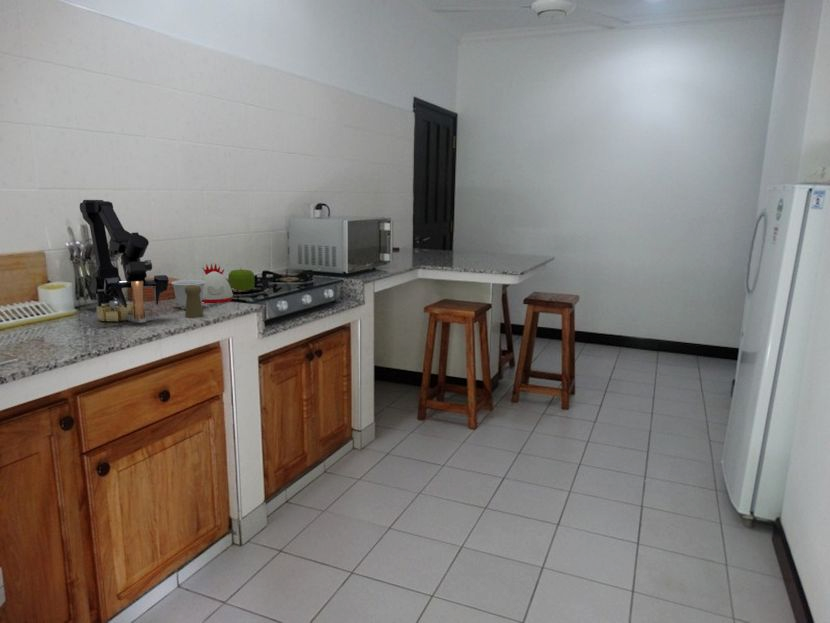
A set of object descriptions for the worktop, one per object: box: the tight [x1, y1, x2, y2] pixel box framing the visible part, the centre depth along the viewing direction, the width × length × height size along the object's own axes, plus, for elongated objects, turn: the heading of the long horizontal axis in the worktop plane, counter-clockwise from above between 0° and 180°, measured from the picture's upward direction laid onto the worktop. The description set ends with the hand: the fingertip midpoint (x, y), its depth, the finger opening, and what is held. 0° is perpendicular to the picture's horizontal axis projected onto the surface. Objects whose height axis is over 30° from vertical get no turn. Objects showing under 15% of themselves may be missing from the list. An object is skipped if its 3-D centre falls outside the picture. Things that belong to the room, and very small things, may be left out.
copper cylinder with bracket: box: [96, 280, 147, 324], centre depth 188 cm, size 20×11×14 cm, turn 58°
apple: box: [227, 267, 255, 290], centre depth 250 cm, size 11×11×11 cm
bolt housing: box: [78, 299, 156, 329], centre depth 192 cm, size 18×18×6 cm
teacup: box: [170, 279, 206, 310], centre depth 212 cm, size 12×15×10 cm
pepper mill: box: [184, 285, 204, 319], centre depth 200 cm, size 6×6×11 cm
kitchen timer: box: [201, 263, 234, 304], centre depth 230 cm, size 14×14×15 cm
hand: (141, 305), depth 184 cm, fingers open, 9 cm apart
